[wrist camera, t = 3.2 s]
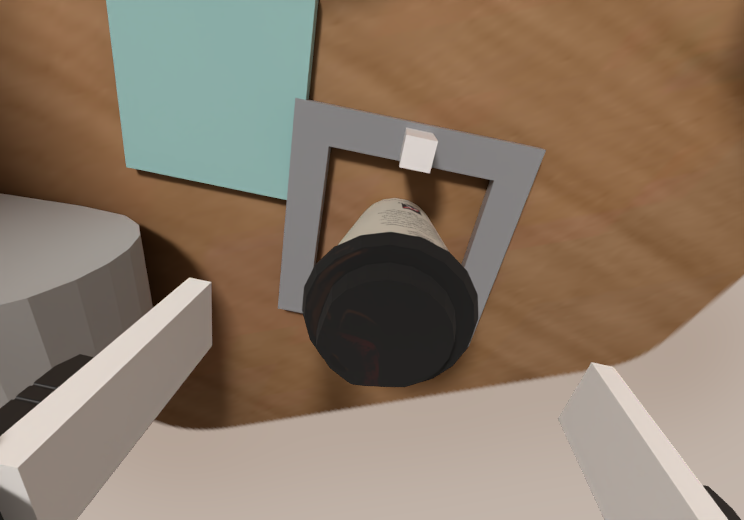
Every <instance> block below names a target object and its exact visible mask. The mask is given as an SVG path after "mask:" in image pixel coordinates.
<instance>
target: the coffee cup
mask: <svg viewBox="0 0 744 520" xmlns="http://www.w3.org/2000/svg"><path fill="white" fill-rule="evenodd" d="M302 312H303V316H304V319H305V323H306V327H307V330H308V334H309V337H310V340H311V342H312V343H313V344H314V346H315V347H316V349H317V350H318V352H319V353H320V355H321V356H322V358H323V359H324V360H325V361H326V363H327V364H328V366H329V367H330V368H331V369H332V370H333V371H334V372H336V373H337V374H338V375H340V376H341V377H342V378H344V379H345V380H346V381H347V382H349V383H350V384H354V385H362V386H380V387H406V386H410V385H413V384H416V383H419V382H423V381H426V380H429V379H432V378H434V377H436V376H437V375H439V374H441V373H442V372H444V371H445V370H447V369H448V368H450V367H452V366H453V365H454V364H455V362H456V361H457V360H458V359H459V358H460V356H461V355H462V354H463V353H464V352H465V351H466V349H467V348H468V345H469V343H470V341H471V338H472V335H473V333H474V330H475V327H476V324H477V321H478V294H477V292H476V290H475V287H474V285H473V283H472V280H471V278H470V276H469V274H468V271H467V270H466V269H465V268H464V267H463V266H462V265H461V264H460V263H459V262H458V261H457V260H456V259H455V258H454V257H453V256H452V255H451V254H450V252H449V251H448V249H447V248H446V246H445V244H444V243H443V241H442V239H441V238H440V236H439V234H438V233H437V231H436V229H435V228H434V226H433V224H432V223H431V221H430V220H429V218H428V216H427V215H426V213H425V212H424V211H423V210H422V209H421V208H420V207H419V206H418V205H416V204H414V203H412V202H410V201H408V200H404V199H398V198H391V199H383V200H381V201H379V202H377V203H375V204H373V205H371V206H370V207H369V208H368V209H367V210H366V211H365V212H364V213H363V214H362V215H361V217H360V218H359V219H358V220H357V222H356V223H355V224H354V225H353V227H352V228H351V229H350V230H349V232H348V233H347V234H346V235H345V237H344V238H343V239H342V240H341V242H340V243H339V244H338V245H337V246H335V247H334V248H333V249H331V250H330V251H329V252H328V253H327V254H326V255H325V256H324V257H323V258H322V259H321V260H320V261H319V262H317V263H316V264H315V266H314V268H313V270H312V272H311V274H310V276H309V278H308V280H307V282H306V284H305V286H304V292H303V303H302Z"/></svg>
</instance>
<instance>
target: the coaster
mask: <svg viewBox="0 0 744 520" xmlns="http://www.w3.org/2000/svg"><path fill="white" fill-rule="evenodd" d="M106 3H107V12H108V20H109V28H110V36H111V45H112V53H113V61H114V70H115V78H116V86H117V94H118V103H119V111H120V119H121V127H122V136H123V144H124V152H125V161H126V167H129V168H134V169H139V170H143V171H148V172H153V173H158V174H163V175H168V176H172V177H177V178H182V179H187V180H192V181H197V182H202V183H206V184H211V185H216V186H221V187H226V188H231V189H235V190H240V191H245V192H250V193H255V194H260V195H265V196H269V197H274V198H279V199H284V200H287V192H288V180H289V167H290V155H291V143H292V131H293V119H294V107H295V98H300V99H304V100H309V92H310V81H311V71H312V61H313V51H314V41H315V31H316V20H317V10H318V0H106Z"/></svg>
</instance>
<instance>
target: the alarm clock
mask: <svg viewBox="0 0 744 520" xmlns="http://www.w3.org/2000/svg"><path fill="white" fill-rule="evenodd" d="M152 308H153V305H152V299H151V293H150V288H149V282H148V276H147V270H146V264H145V258H144V252H143V246H142V241H141V235H140V229H139V225H138V224H137V223H135V222H134V221H132V220H131V219H130V218H128V217H127V216H125V215H121V214H116V213H112V212H107V211H102V210H98V209H93V208H89V207H84V206H79V205H72V204H66V203H59V202H53V201H46V200H40V199H33V198H27V197H20V196H14V195H7V194H1V193H0V408H1V407H2V406H4V405H5V404H6V403H8V402H9V401H10V400H11V399H12V400H14V399H15V398H16V396H17V395H18V394H19V393H20V392H22V391H23V390H24V389H26V388H27V387H28V386H32V385H33V384H34V382H35V381H36V380H37V379H39V378H40V377H41V376H43V375H44V374H45V373H46V372H48V371H49V370H50V369H52V368H53V367H54V366H56V365H58V364H60V363H62V362H64V361H67V360H69V359H71V358H73V357H75V356H77V355H79V354H82V355H87V356H91V357H95V356H96V355H98V354H99V353H100V352H101V351H102V350H104V349H105V348H106V347H107V346H108V345H109V344H111V343H112V342H113V341H114V340H115V339H117V338H118V337H119V336H120V335H121V334H123V333H124V332H125V331H126V330H127V329H129V328H130V327H131V326H132V325H133V324H134V323H136V322H137V321H138V320H139V319H140V318H142V317H143V316H144V315H145V314H146V313H148V312H149V311H150V310H151V309H152Z"/></svg>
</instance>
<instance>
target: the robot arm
mask: <svg viewBox="0 0 744 520" xmlns="http://www.w3.org/2000/svg"><path fill="white" fill-rule="evenodd" d="M211 346H212V289H211V282H209V281H204V280H199V279H195V278H190V277H189V278H188V279H187V280H186V281H184V282H183V283H182V284H181V285H180V286H179V287H177V288H176V289H175V290H174V291H173V292H171V293H170V294H169V295H168V296H167V297H165V298H164V299H163V300H162V301H161V302H159V303H158V304H157V305H156V306H155V307H154V308H152V309H151V310H150V311H149V312H148V313H146V314H145V315H144V316H143V317H142V318H140V319H139V320H138V321H137V322H136V323H134V324H133V325H132V326H131V327H130V328H129V329H127V330H126V331H125V332H124V333H123V334H121V335H120V336H119V337H118V338H117V339H115V340H114V341H113V342H112V343H111V344H109V345H108V346H107V347H106V348H105V349H104V350H102V351H101V352H100V353H99V354H98V355H96V356H95V357H91V356H87V355H82V354H79V355H77V356H75V357H73V358H71V359H69V360H67V361H64V362H62V363H60V364H58V365H56V366H54V367H53V368H52V369H50V370H49V371H48V372H46V373H45V374H44V375H43V376H41V377H40V378H39V379H37V380H36V381H35V382H34V384H33V385H32V386H28V387H27V388H26V389H24V390H23V391H22V392H20V393H19V394H18V395H17V396H16V398H15V399H14V400H12V399H11V400H10V401H9V402H8V403H6V404H5V405H4V406H2V407H1V408H0V520H77V519H78V517H79V516H80V515H81V513H82V512H83V511H84V510H85V508H86V507H87V506H88V504H89V503H90V502H91V501H92V499H93V498H94V497H95V495H96V494H97V493H98V492H99V490H100V489H101V488H102V486H103V485H104V484H105V483H106V481H107V480H108V479H109V477H110V476H111V475H112V474H113V472H114V471H115V470H116V468H117V467H118V466H119V465H120V463H121V462H122V461H123V459H124V458H125V457H126V456H127V454H128V453H129V452H130V450H131V449H132V448H133V447H134V445H135V444H136V442H137V441H138V440H139V439H140V438H141V436H142V435H143V434H144V432H145V431H146V430H147V429H148V427H149V426H150V425H151V423H152V422H153V421H154V420H155V418H156V417H157V416H158V414H159V413H160V412H161V411H162V409H163V408H164V407H165V405H166V404H167V403H168V402H169V400H170V399H171V398H172V396H173V395H174V394H175V393H176V391H177V390H178V389H179V387H180V386H181V385H182V384H183V382H184V381H185V380H186V378H187V377H188V376H189V375H190V373H191V372H192V371H193V370H194V368H195V367H196V366H197V364H198V363H199V362H200V361H201V359H202V358H203V357H204V355H205V354H206V353H207V352H208V350H209V349H210V348H211ZM558 420H559V422H560V424H561V427H562V429H563V431H564V433H565V435H566V437H567V439H568V442H569V444H570V446H571V448H572V450H573V453H574V455H575V457H576V459H577V461H578V463H579V466H580V468H581V470H582V472H583V474H584V477H585V479H586V481H587V483H588V485H589V487H590V489H591V492H592V494H593V496H594V498H595V500H596V502H597V505H598V507H599V509H600V511H601V513H602V516H603V517H604V520H741V519H740V518H739V517H738V516H737V514H736V513H735V511H734V510H733V509H732V508H731V507H730V506H729V505H728V504H727V503H726V502H725V501H724V500H723V499H721V498H720V497H719V496H718V495H717V494H716V493H715V492H714V491H713V490H712V489H711V488H710V487H708V486H704V485H702V484H701V483H700V481H699V480H698V479H697V477H696V476H695V475H694V473H693V472H692V471H691V469H690V468H689V467H688V466H687V464H686V463H685V461H684V460H683V459H682V457H681V456H680V455H679V453H678V452H677V451H676V450H675V448H674V447H673V446H672V444H671V443H670V441H669V440H668V439H667V438H666V436H665V435H664V434H663V432H662V431H661V429H660V428H659V427H658V425H657V424H656V423H655V421H654V420H653V419H652V418H651V416H650V415H649V413H648V412H647V411H646V409H645V408H644V407H643V406H642V404H641V403H640V401H639V400H638V399H637V397H636V396H635V395H634V393H633V392H632V391H631V389H630V388H629V387H628V386H627V384H626V383H625V381H624V380H623V379H622V378H621V376H620V375H619V373H618V372H617V371H616V369H615V368H614V367H611V366H606V365H601V364H597V363H592V362H591V364H590V366H589V367H588V369H587V371H586V372H585V374H584V376H583V378H582V379H581V381H580V383H579V384H578V386H577V388H576V389H575V391H574V393H573V394H572V396H571V398H570V399H569V401H568V403H567V404H566V406H565V408H564V410H563V411H562V413H561V415H560V416H559V418H558Z"/></svg>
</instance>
